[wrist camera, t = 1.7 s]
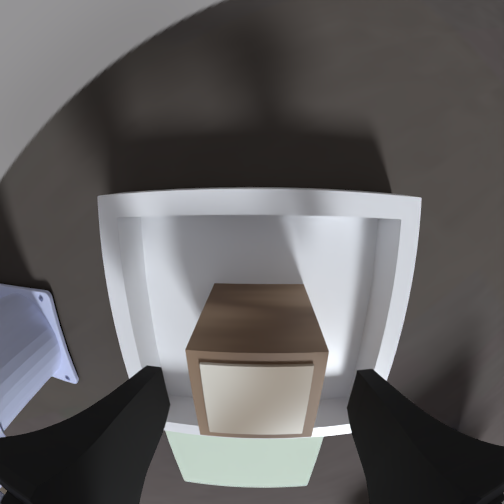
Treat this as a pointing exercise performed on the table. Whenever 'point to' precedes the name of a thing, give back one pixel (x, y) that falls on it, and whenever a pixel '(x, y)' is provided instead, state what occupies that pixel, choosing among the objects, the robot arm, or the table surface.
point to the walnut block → (257, 362)
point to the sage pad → (245, 460)
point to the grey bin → (259, 275)
